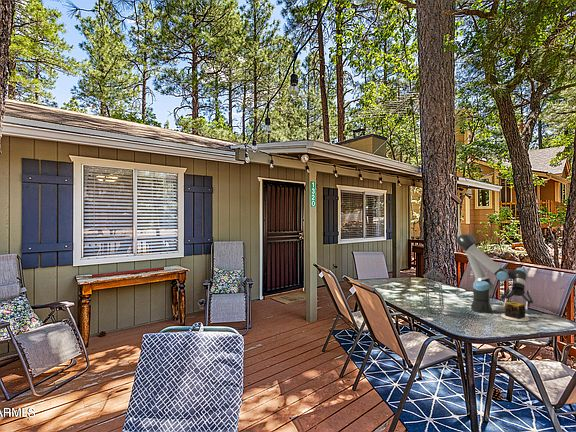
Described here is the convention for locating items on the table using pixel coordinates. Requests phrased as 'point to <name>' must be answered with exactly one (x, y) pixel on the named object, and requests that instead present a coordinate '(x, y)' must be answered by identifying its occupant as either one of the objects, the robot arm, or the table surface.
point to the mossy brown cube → (515, 310)
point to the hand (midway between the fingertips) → (515, 308)
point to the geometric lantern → (434, 286)
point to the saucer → (515, 318)
